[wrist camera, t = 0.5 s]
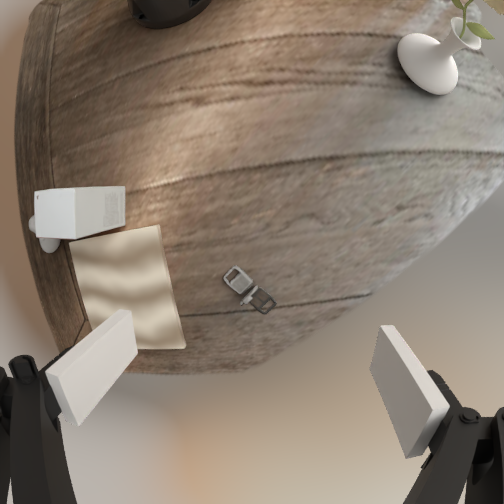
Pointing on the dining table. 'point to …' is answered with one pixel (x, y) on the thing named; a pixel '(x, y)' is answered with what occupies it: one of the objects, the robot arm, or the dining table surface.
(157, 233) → the birch board
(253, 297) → the strap clip
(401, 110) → the dining table surface
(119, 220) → the small box
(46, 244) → the smooth white sculpture
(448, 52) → the flower in vase
